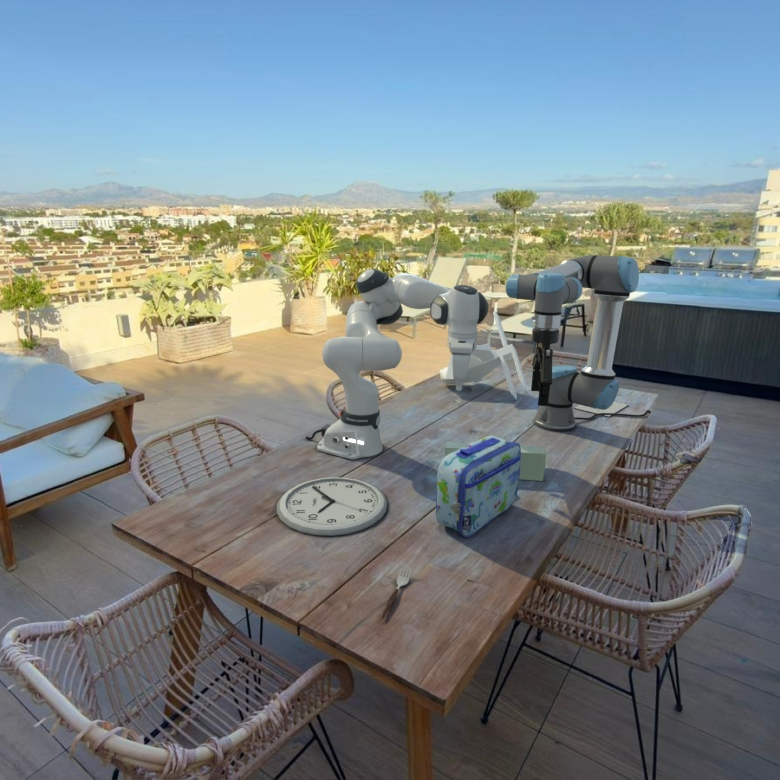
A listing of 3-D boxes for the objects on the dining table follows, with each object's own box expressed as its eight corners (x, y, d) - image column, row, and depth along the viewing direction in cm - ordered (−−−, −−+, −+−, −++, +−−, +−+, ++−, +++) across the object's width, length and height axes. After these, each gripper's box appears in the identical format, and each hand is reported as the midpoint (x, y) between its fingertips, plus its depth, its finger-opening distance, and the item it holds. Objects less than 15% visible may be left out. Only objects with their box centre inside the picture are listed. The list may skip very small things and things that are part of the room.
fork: (375, 618, 102) (375, 610, 101) (401, 570, 116) (402, 563, 115) (388, 622, 101) (388, 613, 100) (413, 573, 115) (413, 565, 114)
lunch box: (462, 546, 125) (467, 466, 119) (428, 528, 132) (432, 452, 126) (521, 508, 143) (529, 437, 136) (489, 494, 150) (494, 425, 144)
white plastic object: (461, 429, 252) (437, 405, 227) (444, 352, 274) (420, 323, 250) (535, 404, 240) (518, 377, 215) (510, 326, 262) (492, 293, 237)
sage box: (540, 473, 163) (543, 447, 161) (543, 481, 159) (546, 453, 156) (444, 467, 167) (445, 441, 164) (444, 474, 162) (445, 447, 159)
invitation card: (608, 416, 214) (573, 407, 224) (608, 416, 214) (573, 408, 224) (628, 404, 229) (594, 396, 238) (628, 405, 229) (594, 397, 238)
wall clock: (392, 527, 129) (268, 531, 127) (391, 533, 130) (269, 537, 127) (383, 473, 158) (282, 475, 155) (383, 478, 158) (282, 480, 156)
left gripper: (452, 333, 166) (450, 375, 171) (450, 348, 147) (447, 395, 151) (472, 334, 165) (469, 376, 170) (472, 349, 146) (469, 396, 151)
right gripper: (526, 320, 163) (521, 385, 169) (539, 337, 139) (532, 411, 146) (551, 320, 162) (544, 385, 169) (568, 337, 139) (559, 412, 145)
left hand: (459, 385), depth 161 cm, fingers open, 8 cm apart
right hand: (539, 398), depth 157 cm, fingers open, 13 cm apart
